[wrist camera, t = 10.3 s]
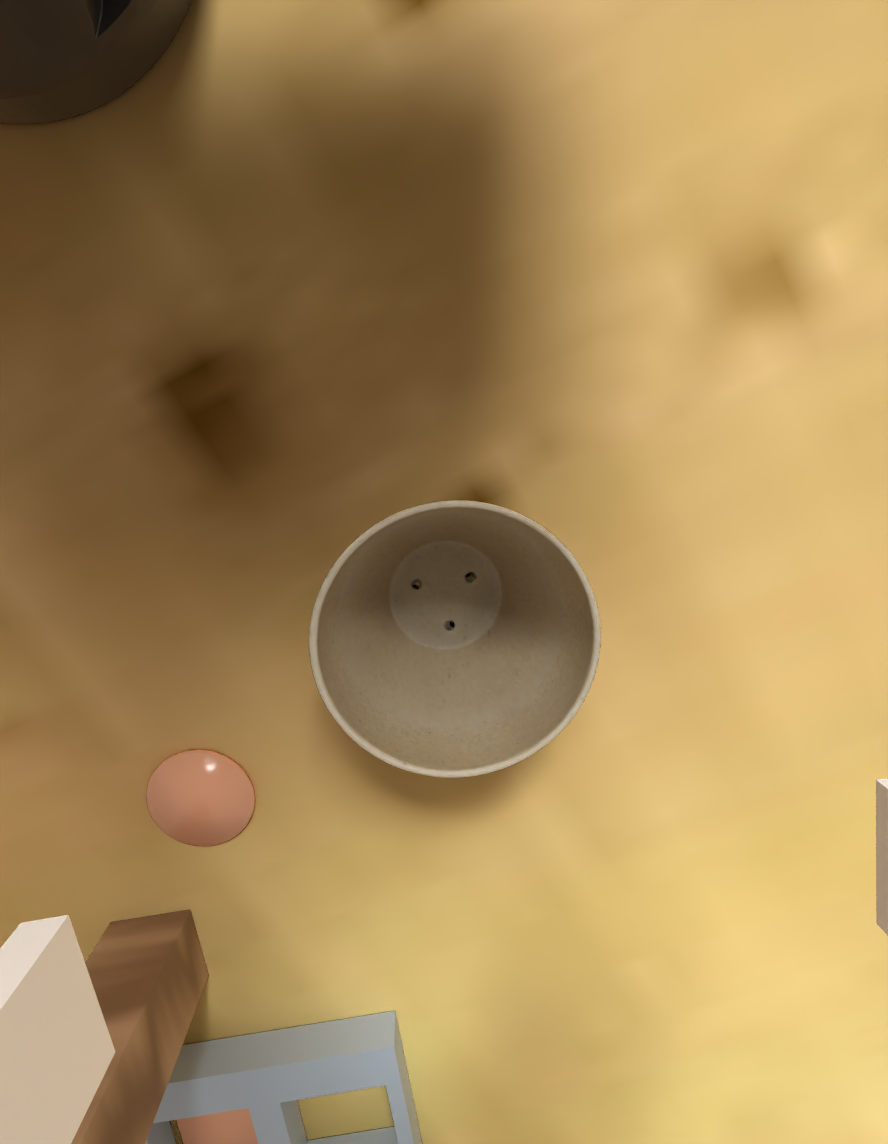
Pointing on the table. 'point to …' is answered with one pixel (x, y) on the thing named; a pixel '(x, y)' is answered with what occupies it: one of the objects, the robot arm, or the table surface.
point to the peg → (141, 1019)
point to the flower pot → (454, 638)
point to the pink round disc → (200, 797)
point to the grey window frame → (285, 1083)
